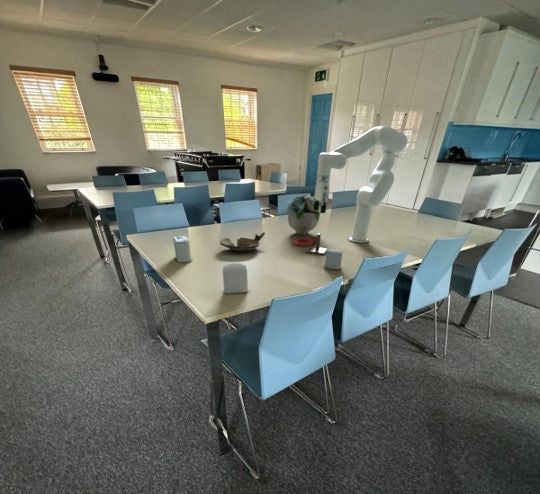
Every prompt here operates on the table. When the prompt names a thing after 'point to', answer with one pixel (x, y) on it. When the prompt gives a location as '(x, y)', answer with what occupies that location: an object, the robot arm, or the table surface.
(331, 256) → the medicine box
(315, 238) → the ring
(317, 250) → the post
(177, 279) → the table surface
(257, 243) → the oil lamp
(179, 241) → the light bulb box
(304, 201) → the flower arrangement
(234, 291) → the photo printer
